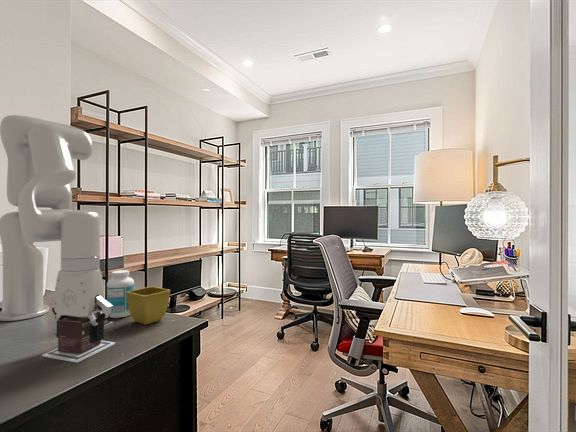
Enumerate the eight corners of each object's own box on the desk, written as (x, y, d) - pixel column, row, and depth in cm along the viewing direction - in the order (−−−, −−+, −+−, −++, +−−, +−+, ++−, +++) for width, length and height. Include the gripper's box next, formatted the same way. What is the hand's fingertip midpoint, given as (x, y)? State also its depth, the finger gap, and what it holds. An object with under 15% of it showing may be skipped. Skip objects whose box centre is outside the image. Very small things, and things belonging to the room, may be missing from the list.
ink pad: (58, 333, 81) (58, 328, 81) (88, 322, 90) (88, 317, 90) (85, 337, 79) (85, 332, 79) (114, 325, 87) (114, 321, 87)
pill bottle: (127, 309, 102) (128, 268, 102) (138, 314, 97) (138, 271, 97) (102, 315, 96) (103, 271, 96) (112, 320, 91) (113, 274, 91)
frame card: (42, 356, 69) (42, 354, 69) (83, 338, 78) (83, 337, 78) (77, 362, 66) (77, 360, 66) (115, 343, 75) (115, 342, 75)
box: (79, 355, 69) (79, 322, 68) (57, 352, 70) (57, 319, 70) (101, 344, 74) (101, 313, 74) (80, 341, 76) (80, 311, 76)
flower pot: (152, 314, 97) (152, 285, 97) (171, 319, 93) (171, 289, 93) (125, 322, 90) (125, 291, 90) (144, 328, 85) (144, 296, 85)
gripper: (36, 264, 71) (35, 339, 71) (96, 270, 66) (95, 350, 66) (67, 260, 78) (67, 328, 78) (124, 264, 73) (123, 336, 73)
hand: (80, 338), depth 72 cm, fingers open, 9 cm apart
